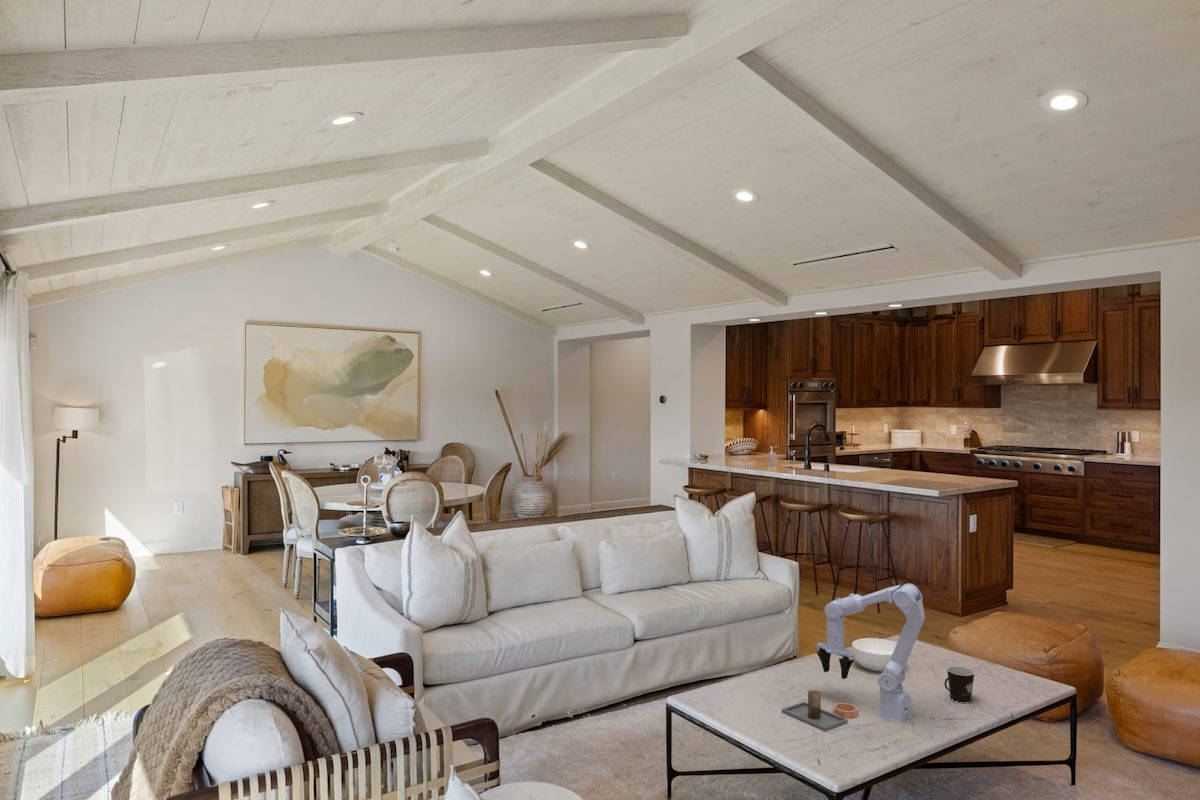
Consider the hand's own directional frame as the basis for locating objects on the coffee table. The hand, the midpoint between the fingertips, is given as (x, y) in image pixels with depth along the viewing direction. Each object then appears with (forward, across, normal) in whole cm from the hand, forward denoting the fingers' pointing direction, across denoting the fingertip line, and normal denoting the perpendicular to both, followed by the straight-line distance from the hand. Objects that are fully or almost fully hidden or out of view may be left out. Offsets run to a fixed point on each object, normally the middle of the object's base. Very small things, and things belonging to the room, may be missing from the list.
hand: (835, 674), depth 270 cm
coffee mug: (+10, +23, +36) cm, 44 cm away
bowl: (+10, -12, +41) cm, 44 cm away
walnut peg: (+9, +5, -17) cm, 20 cm away
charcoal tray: (+9, +5, -17) cm, 20 cm away
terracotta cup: (+9, +9, -6) cm, 14 cm away
